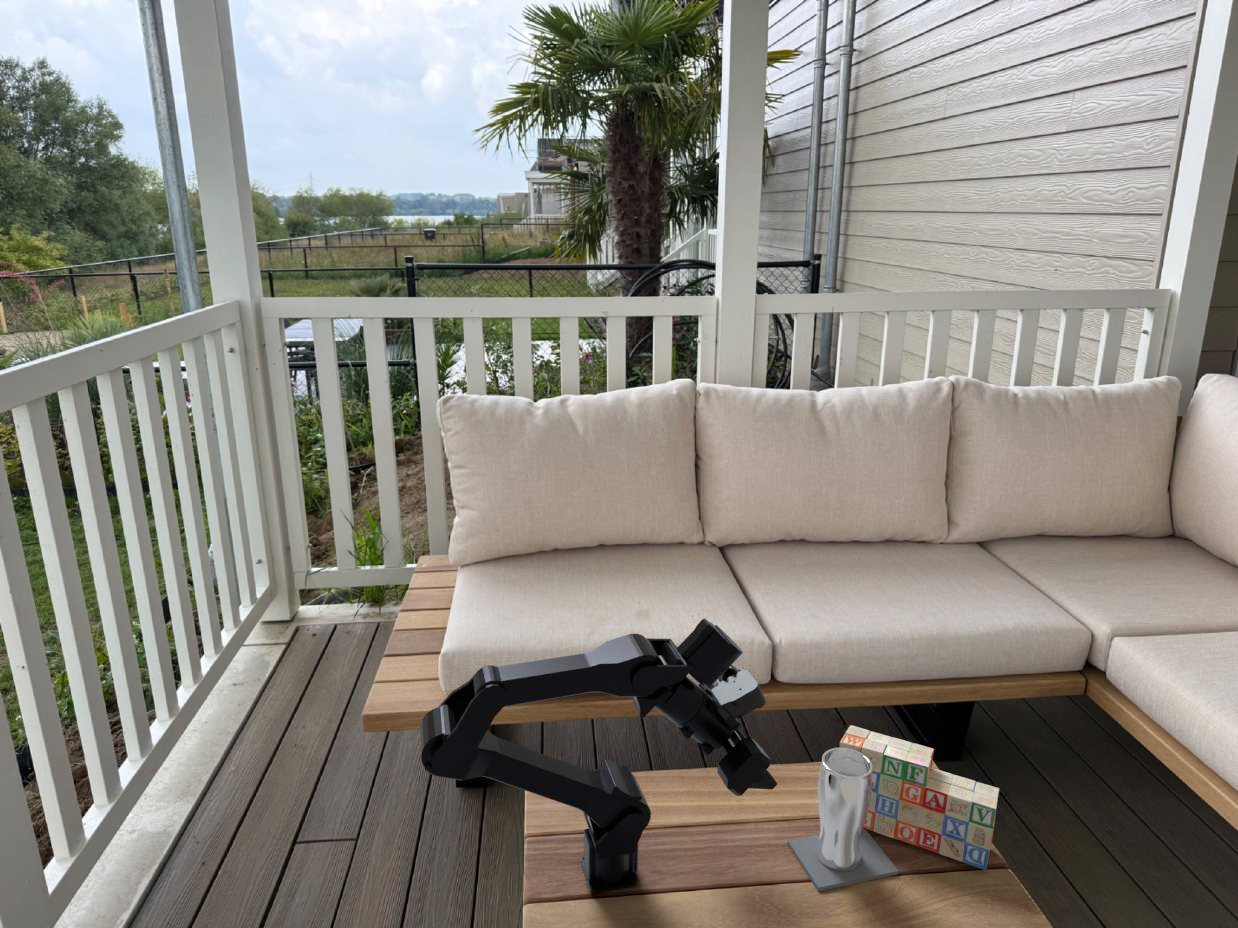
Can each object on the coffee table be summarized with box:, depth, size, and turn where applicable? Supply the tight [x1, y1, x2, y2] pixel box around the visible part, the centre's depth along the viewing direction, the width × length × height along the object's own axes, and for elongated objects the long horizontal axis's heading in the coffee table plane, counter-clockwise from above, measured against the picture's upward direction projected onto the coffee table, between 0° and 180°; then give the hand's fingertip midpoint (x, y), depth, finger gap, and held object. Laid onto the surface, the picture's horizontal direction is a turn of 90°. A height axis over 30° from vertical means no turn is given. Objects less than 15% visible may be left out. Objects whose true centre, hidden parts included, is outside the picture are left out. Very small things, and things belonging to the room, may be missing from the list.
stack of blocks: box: [838, 724, 1000, 871], centre depth 116 cm, size 21×6×12 cm, turn 60°
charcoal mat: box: [787, 828, 899, 892], centre depth 112 cm, size 12×9×1 cm
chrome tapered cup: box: [816, 747, 872, 872], centre depth 110 cm, size 7×7×15 cm
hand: (760, 764), depth 111 cm, fingers open, 9 cm apart
